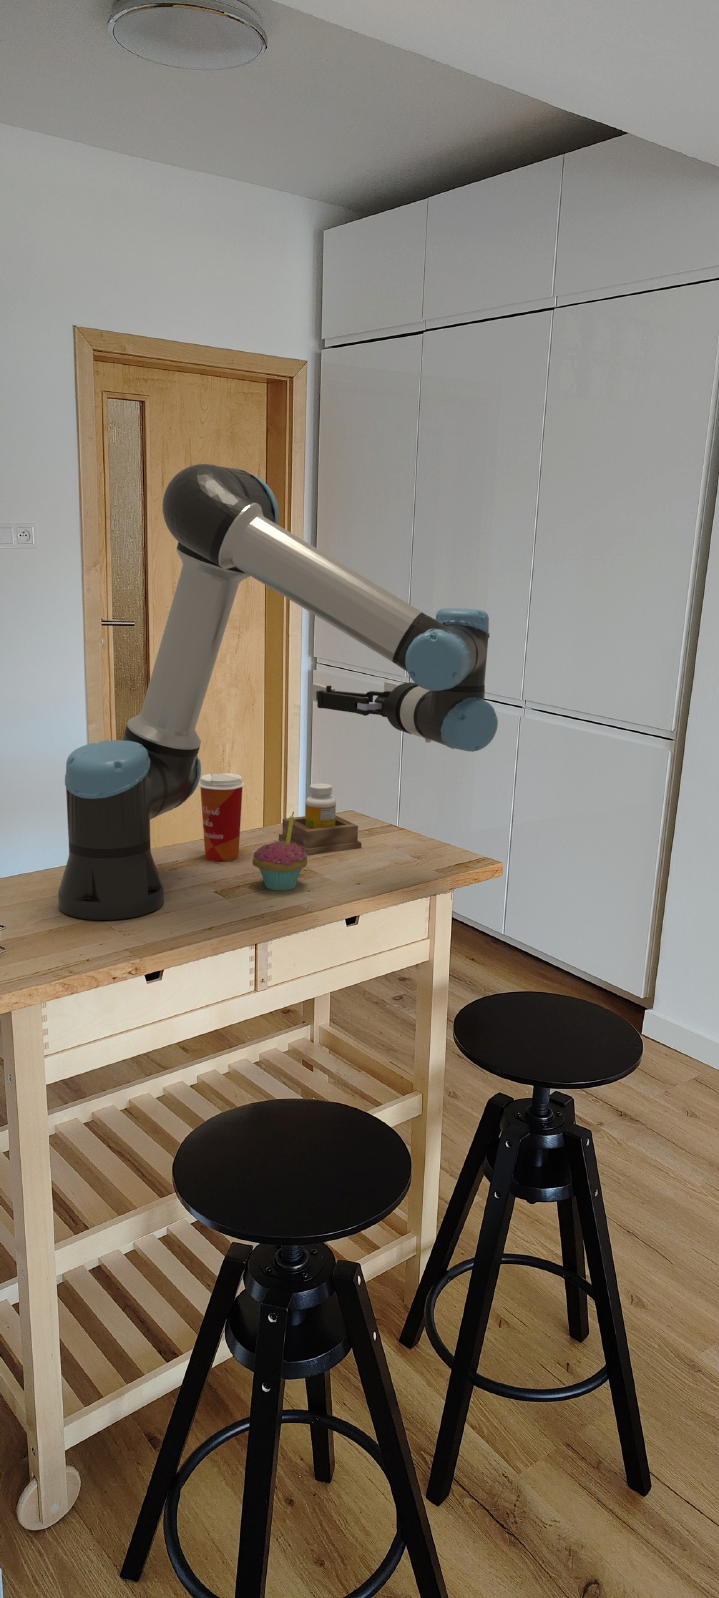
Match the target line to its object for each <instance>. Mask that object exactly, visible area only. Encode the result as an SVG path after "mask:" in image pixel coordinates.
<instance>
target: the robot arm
mask: <svg viewBox="0 0 719 1598" xmlns="http://www.w3.org/2000/svg"><path fill="white" fill-rule="evenodd" d="M162 515H163V519H164V520H163V521H164V523H165V525H166V527H167V529H168V531H169V532H170V534H171V536H172V537H173V538H174V539H175V541H177V544H176V545H177V546H176V550H175V551H176V553H177V554H178V556H179V558H180V560H181V563H182V567H181V571H180V573H179V577H178V581H177V585H176V588H175V591H174V595H173V599H172V602H171V605H170V610H169V612H168V615H167V619H166V624H165V626H164V630H163V634H162V638H161V639H160V640H161V641H160V644H159V648H158V651H157V655H156V658H155V662H154V665H153V669H152V673H151V676H150V680H149V682H148V683H149V684H148V686H147V690H146V693H145V697H144V701H143V705H142V708H141V711H140V713H139V714H137V715H135V716H133V717H131V718H130V719H128V721H127V722H126V727H125V730H124V733H123V736H122V739H121V740H119V739H117V740H114V739H113V740H102V741H99V742H97V743H95V742H94V743H93V742H91V743H88V744H85V745H82V746H80V747H78V748H76V749H74V750H73V751H72V752H71V753H70V754H68V757H67V759H66V763H65V765H66V766H65V767H66V768H65V775H64V785H65V792H66V793H65V794H66V813H67V814H66V815H67V817H66V819H67V831H68V832H67V836H68V857H67V861H66V865H65V867H64V871H63V874H62V878H61V881H60V885H59V888H58V894H57V897H58V908H59V910H60V912H62V913H63V914H65V915H68V916H70V917H74V918H78V919H84V920H92V921H94V920H96V921H110V920H111V921H115V920H116V921H117V920H123V919H131V918H136V917H140V916H144V915H147V914H151V913H152V912H154V911H157V910H159V909H160V908H161V907H162V906H163V905H164V902H165V900H164V899H165V898H164V896H165V895H164V893H165V892H164V884H163V881H162V879H161V876H160V874H159V872H158V871H159V870H158V869H157V865H156V863H155V859H154V857H153V855H152V850H151V848H152V847H151V820H152V819H155V818H156V817H159V816H160V815H162V814H164V813H167V812H169V811H172V810H173V809H177V808H179V807H180V806H181V805H182V804H183V803H185V802H186V801H187V800H188V799H189V798H190V797H191V796H192V795H193V794H194V792H195V791H196V789H197V787H198V786H199V785H198V784H199V783H200V781H201V775H202V764H201V763H202V762H201V759H200V758H199V756H198V754H199V751H200V747H201V743H202V741H201V739H200V736H199V734H198V733H197V732H196V727H197V723H198V720H199V717H200V713H201V710H202V707H203V704H204V701H205V697H206V695H207V691H208V687H209V683H210V681H211V677H212V674H213V670H214V668H215V664H216V660H217V658H218V654H219V650H220V648H221V645H222V642H223V638H224V635H225V632H226V628H227V625H228V622H229V619H230V614H231V611H232V608H233V606H234V602H235V599H236V595H237V591H238V588H239V584H240V583H241V582H242V581H244V580H246V579H248V578H250V577H251V578H252V579H255V580H257V581H258V582H260V583H261V584H263V585H264V586H266V587H268V588H269V589H271V590H273V591H274V592H276V593H278V594H279V595H281V596H283V597H285V598H286V599H288V600H290V601H291V602H292V603H294V604H295V605H298V606H299V607H301V608H303V609H304V610H306V611H308V612H309V613H311V614H312V615H314V616H315V617H317V618H319V619H321V620H322V621H324V622H325V623H327V624H329V625H330V626H332V627H334V628H335V629H338V630H339V631H341V632H342V633H344V634H346V635H347V636H349V637H350V638H352V639H353V640H355V641H357V642H358V643H361V644H362V645H364V646H366V648H368V649H370V650H372V651H373V652H375V653H377V654H378V655H380V656H382V657H383V658H385V659H387V660H388V661H390V662H392V663H393V664H395V665H396V666H397V667H399V668H401V669H402V670H404V671H406V672H407V674H408V676H409V677H410V679H411V680H412V682H403V683H401V684H399V683H395V682H392V681H384V683H383V691H378V690H377V691H375V690H370V691H366V693H362V692H350V691H340V690H336V689H335V688H332V685H326V686H325V685H323V684H320V683H312V686H311V701H312V702H313V701H314V702H317V709H318V708H319V709H326V710H331V711H332V710H333V711H339V712H340V711H341V712H345V713H351V714H352V713H354V714H357V715H362V716H364V717H365V716H369V715H376V716H377V715H378V716H381V717H383V718H387V720H388V722H389V724H390V725H391V726H392V727H393V728H394V729H396V730H398V731H400V732H403V733H407V734H409V735H414V736H416V737H421V738H423V739H424V741H425V742H426V743H431V742H434V743H438V744H439V745H440V744H441V745H443V746H446V747H447V748H450V749H452V750H454V749H456V750H460V751H465V752H472V753H473V752H479V751H481V750H483V749H484V748H486V747H487V746H488V745H489V744H490V743H491V742H492V741H493V739H494V738H495V736H496V733H497V730H498V724H499V722H498V721H499V720H498V717H497V714H496V711H495V708H494V707H493V705H492V704H490V703H489V702H488V701H486V700H485V697H486V696H485V695H486V688H485V687H486V686H485V684H486V683H485V682H486V670H487V659H488V658H487V657H488V649H489V648H488V647H489V639H490V632H489V629H490V628H489V626H490V622H489V621H490V619H489V617H490V616H489V614H488V613H487V612H486V610H481V609H475V608H473V609H472V608H461V607H460V608H459V607H458V608H455V607H453V608H452V607H449V608H448V607H446V608H445V607H444V608H441V609H438V610H437V612H436V614H435V618H433V617H432V616H429V615H427V614H426V613H425V612H423V611H422V610H420V609H418V608H417V607H415V606H413V605H411V604H410V603H408V602H406V601H404V600H403V599H402V598H400V597H398V596H396V595H395V594H393V593H392V592H390V591H388V590H386V589H385V588H383V587H382V586H380V585H378V584H376V583H375V582H373V581H372V580H369V578H366V577H365V576H363V575H362V574H360V573H358V572H357V571H355V570H353V569H352V568H350V567H348V566H347V565H345V564H344V563H342V562H340V561H338V560H336V559H335V558H333V557H332V556H330V555H329V554H327V553H325V552H323V551H322V550H321V549H318V548H317V547H315V546H313V545H312V544H310V543H309V542H307V541H305V540H303V539H302V538H300V537H298V536H296V535H295V534H293V533H292V532H290V531H288V530H287V529H285V528H284V527H282V526H280V525H279V524H280V523H279V522H280V510H279V505H278V501H277V499H276V496H275V494H274V492H273V491H272V489H271V487H270V486H269V485H268V484H267V483H266V482H265V481H264V480H263V479H261V478H259V477H258V476H257V475H255V474H252V473H250V472H248V471H247V470H243V469H239V468H234V467H225V466H219V465H214V464H208V463H201V464H200V463H197V464H194V465H190V466H188V467H186V468H184V469H181V470H180V471H179V472H178V473H176V474H175V475H174V477H173V478H172V479H171V480H170V481H169V483H168V484H167V486H166V488H165V490H164V494H163V497H162ZM374 696H376V698H375V699H374Z"/></svg>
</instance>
